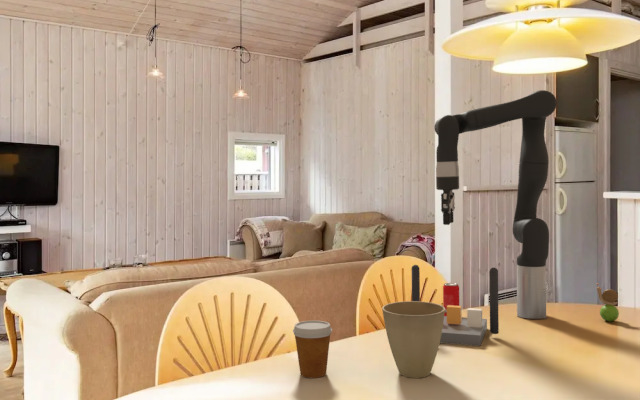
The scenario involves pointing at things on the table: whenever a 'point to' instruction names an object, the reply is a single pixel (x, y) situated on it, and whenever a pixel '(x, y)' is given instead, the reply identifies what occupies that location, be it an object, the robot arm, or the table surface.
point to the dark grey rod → (415, 283)
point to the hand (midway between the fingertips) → (448, 223)
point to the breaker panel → (465, 329)
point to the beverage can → (450, 295)
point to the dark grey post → (494, 301)
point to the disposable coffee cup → (312, 347)
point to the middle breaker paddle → (454, 314)
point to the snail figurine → (608, 304)
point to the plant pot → (414, 335)
